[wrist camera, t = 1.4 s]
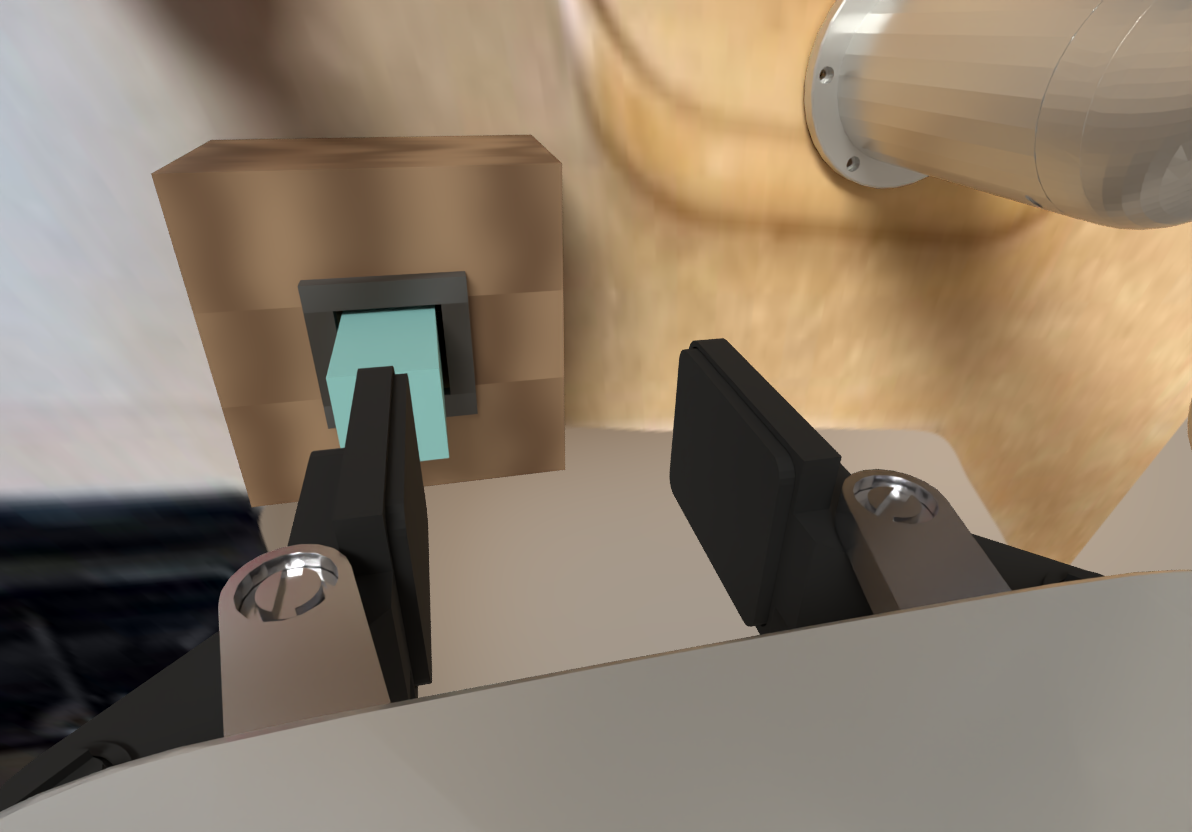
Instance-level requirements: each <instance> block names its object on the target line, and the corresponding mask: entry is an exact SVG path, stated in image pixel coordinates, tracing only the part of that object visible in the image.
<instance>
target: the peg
mask: <svg viewBox="0 0 1192 832" xmlns="http://www.w3.org/2000/svg"><path fill="white" fill-rule="evenodd" d="M383 366H393V367H394V371H395V374H404V373H407V374H408V379H409V385H410V392H411V400H412V407H413V414H414V421H415V428H416V436H417V443H418V450H419V457H420V461H426V460H435V459H444V458H449V449H448V437H447V424H446V412H445V399H444V387H443V374H442V362H441V352H440V343H439V333H438V324H437V315H436V306H435V305H420V306H405V307H390V308H375V309H359V310H344V311H343V312H342V316H341V320H340V324H339V328H338V332H337V336H336V340H335V344H334V348H333V352H332V356H331V360H330V364H329V368H328V372H327V376H326V381H327V386H328V390H329V395H330V400H331V405H332V410H333V414H334V419H335V424H336V429H337V434H338V438H339V443H340V448H345V442H346V436H347V430H348V424H349V418H350V412H351V406H352V400H353V394H354V388H355V382H356V376H357V370H358V369H359V368H371V367H383Z"/></svg>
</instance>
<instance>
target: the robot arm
mask: <svg viewBox="0 0 1192 832" xmlns="http://www.w3.org/2000/svg"><path fill="white" fill-rule="evenodd" d="M821 71H822V76H821V77H820V76H819V75H820V72H821ZM804 105H805V113H806V120H807V126H808V129H809V132H810V135H811V138H812V141H813V143H814V145H815V147H816V149H817V150H818V152H819V154H820V155H821V157H822V159H823V160H824V161H825V162H826V163H827V164H828V165H829V166H830V167H831V168H832V169H833V170H834V171H835V172H836V173H838V174H840V175H841V176H843V177H844V178H846V179H847V180H850V181H853V182H855V183H858V184H860V185H863V186H868V187H873V188H878V189H879V188H897V187H901V186H905V185H909V184H913V183H915V182H918V181H920V180H922V179H924V178H926V177H928V176H932V177H935V178H939V179H942V180H945V181H949V182H952V183H956V184H959V185H963V186H966V187H969V188H973V189H976V190H980V191H983V192H987V193H990V194H993V195H997V196H1000V197H1004V198H1007V199H1010V200H1014V201H1017V202H1021V203H1024V204H1028V205H1031V206H1034V207H1038V208H1041V209H1045V210H1048V211H1051V212H1055V213H1058V214H1062V215H1065V216H1069V217H1072V218H1075V219H1080V220H1084V221H1087V222H1091V223H1094V224H1098V225H1102V226H1107V227H1112V228H1118V229H1132V230H1146V229H1156V228H1166V227H1172V226H1177V225H1181V224H1184V223H1188V222H1192V0H836V2H835V3H834V4H833V6H832V7H831V8H830V10H829V12H828V14H827V16H826V18H825V20H824V22H823V24H822V25H821V27H820V29H819V31H818V33H817V36H816V39H815V42H814V45H813V48H812V51H811V54H810V57H809V62H808V67H807V72H806V78H805V95H804ZM847 162H848V163H847ZM1188 437H1189V442H1190V446H1191V449H1192V400H1191V404H1190V408H1189V414H1188ZM840 461H841V455H839V454H838V452H836V450H834V448H832V446H831V445H830V444H829V443H828V442H827V441H826V440H825V439H824V438H823V437H822V436H821V435H820V434H819V433H818V432H817V431H816V430H815V429H814V428H813V427H812V426H811V425H810V424H809V423H808V422H807V421H806V420H805V419H804V418H803V417H802V416H801V415H800V414H799V413H798V412H797V411H796V410H795V409H794V408H793V407H792V406H791V405H790V404H789V403H788V402H787V401H786V400H785V399H784V398H783V397H782V396H781V395H780V394H779V393H778V392H777V391H776V390H775V389H774V388H773V387H772V386H771V385H770V384H769V383H768V382H767V381H766V380H765V379H764V378H763V377H762V376H761V375H760V374H759V373H758V372H757V371H756V370H755V369H754V368H753V367H752V366H751V365H750V364H749V362H748V361H747V360H746V359H745V358H744V357H743V356H742V355H741V354H740V353H739V352H738V351H737V350H736V349H735V348H734V347H733V346H732V345H731V344H730V343H729V342H728V341H727V340H725V339H724V338H721V339H709V340H697V341H692V343H691V344H690V347H689V349H685V350H682V351H681V354H680V358H679V368H678V380H677V392H676V404H675V416H674V428H673V440H672V451H671V463H670V484H671V489H672V492H673V494H674V496H675V498H676V500H677V502H678V504H679V505H680V507H681V509H682V511H683V513H684V514H685V516H686V518H687V520H688V522H689V524H690V525H691V527H692V529H693V531H694V533H695V534H696V536H697V538H698V540H699V542H700V544H701V545H702V547H703V549H704V551H705V552H706V554H707V556H708V558H709V560H710V562H711V564H712V565H713V567H714V569H715V571H716V573H717V574H718V576H719V578H720V580H721V582H722V583H723V585H724V587H725V589H726V591H727V593H728V594H729V596H730V598H731V600H732V602H733V603H734V605H735V607H736V609H737V611H738V613H739V614H740V616H741V618H742V620H743V621H744V623H745V624H746V625H747V626H756V628H757V630H758V632H759V633H760V635H757V636H752V637H746V638H741V639H735V640H730V641H724V642H719V643H713V644H707V645H702V646H696V647H691V648H685V649H680V650H675V651H669V652H664V653H658V654H653V655H647V656H641V657H636V658H630V659H625V660H620V661H614V662H608V663H603V664H598V665H593V666H587V667H582V668H576V669H571V670H566V671H560V672H555V673H549V674H544V675H539V676H534V677H528V678H523V679H518V680H512V681H507V682H501V683H496V684H491V685H485V686H480V687H475V688H469V689H464V690H459V691H453V692H448V693H443V694H437V695H432V696H427V697H421V698H418V686H419V685H425V684H430V683H432V661H431V660H432V659H431V658H432V657H431V621H430V582H429V548H428V547H429V543H428V518H427V508H426V500H425V493H424V486H423V479H422V471H421V464H420V457H419V450H418V443H417V436H416V428H415V421H414V414H413V407H412V400H411V392H410V385H409V379H408V374H407V373H404V374H395V371H394V367H393V366H383V367H371V368H359V369H358V370H357V376H356V382H355V388H354V394H353V400H352V406H351V412H350V418H349V424H348V430H347V436H346V442H345V448H336V449H327V450H317V451H313V452H311V454H310V457H309V461H308V465H307V469H306V473H305V477H304V481H303V485H302V489H301V493H300V497H299V501H298V506H297V510H296V514H295V518H294V522H293V526H292V530H291V534H290V539H289V543H288V547H283V548H279V549H276V550H274V551H271V552H268V553H265V554H263V555H261V556H259V557H257V558H256V559H254V560H252V561H250V562H249V563H247V564H245V565H244V566H243V567H242V568H240V569H239V570H238V571H237V572H236V573H235V574H234V575H233V576H232V577H230V579H229V580H228V582H227V583H226V585H225V586H224V588H223V589H222V591H221V595H220V600H219V605H218V608H219V631H218V632H217V633H216V634H214V635H213V636H211V637H210V638H208V639H207V640H205V641H204V642H203V643H201V644H200V645H198V646H197V647H195V648H194V649H192V650H191V651H190V652H188V653H187V654H185V655H184V656H182V657H181V658H180V659H178V660H177V661H175V662H174V663H172V664H171V665H169V666H168V667H167V668H165V669H164V670H162V671H161V672H159V673H158V674H156V675H155V676H154V677H152V678H151V679H149V680H148V681H146V682H145V683H143V684H142V685H141V686H139V687H138V688H136V689H135V690H133V691H132V692H131V693H129V694H128V695H126V696H125V697H123V698H122V699H120V700H119V701H118V702H116V703H115V704H113V705H112V706H110V707H109V708H107V709H106V710H105V711H103V712H102V713H100V714H99V715H97V716H96V717H94V718H93V719H92V720H90V721H89V722H87V723H86V724H84V725H83V726H82V727H80V728H79V729H77V730H76V731H74V732H73V733H71V734H70V735H69V736H67V737H66V738H64V739H63V740H61V741H60V742H58V743H57V744H56V745H54V746H53V747H51V748H50V749H48V750H47V751H45V752H44V753H43V754H41V755H40V756H38V757H37V758H35V759H34V760H32V761H31V762H30V763H28V764H27V765H26V766H25V767H24V768H22V769H21V770H20V771H19V772H17V773H16V774H15V775H14V776H13V777H11V778H10V779H9V780H8V781H6V782H5V783H4V784H3V786H2V787H1V788H0V832H1192V570H1167V571H1152V572H1151V571H1149V572H1133V573H1126V574H1119V575H1111V576H1103V575H1101V574H1098V573H1094V572H1090V571H1086V570H1083V569H1080V568H1077V567H1074V566H1071V565H1068V564H1065V563H1061V562H1058V561H1055V560H1052V559H1049V558H1046V557H1043V556H1040V555H1037V554H1033V553H1030V552H1027V551H1024V550H1021V549H1018V548H1015V547H1012V546H1008V545H1005V544H1002V543H999V542H996V541H993V540H990V539H987V538H983V537H980V536H977V535H974V534H971V533H970V531H969V530H968V529H967V527H966V526H965V525H964V523H963V522H962V520H961V519H960V517H959V516H958V515H957V513H956V512H955V510H954V509H953V508H952V506H951V505H950V503H949V502H948V501H947V499H946V498H945V497H944V496H943V495H942V494H941V493H940V492H939V491H938V490H937V489H935V488H934V487H932V486H931V485H929V484H928V483H926V482H925V481H922V480H920V479H917V478H915V477H913V476H911V475H908V474H904V473H900V472H896V471H891V470H881V469H873V470H863V471H859V472H856V473H853V474H850V473H849V472H848V471H847V470H846V469H845V468H844V467H843V466H842V464H841V463H840Z"/></svg>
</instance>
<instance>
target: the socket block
mask: <svg viewBox="0 0 1192 832" xmlns="http://www.w3.org/2000/svg"><path fill="white" fill-rule="evenodd" d="M151 175H152V178H153V181H154V184H155V188H156V191H157V194H158V198H159V201H160V204H161V208H162V211H163V214H164V218H165V221H166V224H167V228H168V231H169V234H170V237H171V241H172V244H173V247H174V251H175V254H176V257H177V261H178V264H179V267H180V271H181V274H182V277H183V281H184V284H185V287H186V291H187V294H188V297H189V300H190V304H191V307H192V310H193V314H194V317H195V320H196V324H197V327H198V330H199V334H200V337H201V340H202V344H203V347H204V350H205V353H206V357H207V360H208V363H209V367H210V370H211V373H212V377H213V380H214V383H215V387H216V390H217V393H218V397H219V400H220V403H221V406H222V410H223V413H224V416H225V420H226V423H227V426H228V430H229V433H230V436H231V440H232V443H233V446H234V450H235V453H236V456H237V459H238V463H239V466H240V469H241V473H242V476H243V479H244V483H245V486H246V489H247V493H248V496H249V499H250V503H251V506H252V507H256V506H265V505H273V504H282V503H290V502H298V501H299V497H300V493H301V489H302V485H303V481H304V477H305V473H306V469H307V465H308V461H309V457H310V454H311V452H313V451H317V450H327V449H336V448H340V443H339V438H338V434H337V429H336V424H335V419H334V414H333V410H332V405H331V400H330V395H329V390H328V386H327V381H326V376H327V372H328V368H329V364H330V360H331V356H332V352H333V348H334V344H335V340H336V336H337V332H338V328H339V324H340V320H341V316H342V312H343V311H344V310H359V309H375V308H390V307H405V306H420V305H435V304H441V308H442V317H443V320H437V324H438V333H439V343H440V352H441V362H442V374H443V387H444V399H445V412H446V424H447V437H448V449H449V458H444V459H435V460H426V461H420V464H421V471H422V479H423V486H431V485H440V484H449V483H457V482H465V481H474V480H482V479H490V478H499V477H507V476H515V475H523V474H532V473H540V472H548V471H557V470H565V416H564V318H563V221H562V163H561V162H560V161H559V160H558V159H557V158H556V157H554V156H553V155H552V154H551V153H550V152H549V151H548V150H547V149H546V148H545V147H544V146H543V145H542V144H541V143H540V142H538V141H537V140H536V139H535V138H534V137H533V136H532V135H493V136H431V137H369V138H307V139H245V140H210V141H208V142H207V143H205V144H203V145H201V146H200V147H198V148H196V149H194V150H193V151H191V152H189V153H187V154H185V155H184V156H182V157H180V158H178V159H177V160H175V161H173V162H171V163H170V164H168V165H166V166H164V167H162V168H161V169H159V170H157V171H155V172H154V173H152V174H151Z"/></svg>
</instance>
